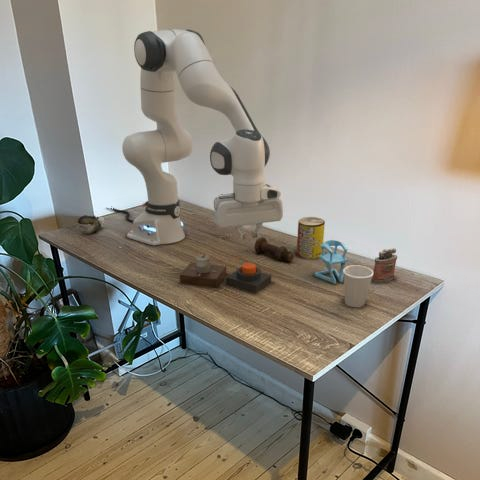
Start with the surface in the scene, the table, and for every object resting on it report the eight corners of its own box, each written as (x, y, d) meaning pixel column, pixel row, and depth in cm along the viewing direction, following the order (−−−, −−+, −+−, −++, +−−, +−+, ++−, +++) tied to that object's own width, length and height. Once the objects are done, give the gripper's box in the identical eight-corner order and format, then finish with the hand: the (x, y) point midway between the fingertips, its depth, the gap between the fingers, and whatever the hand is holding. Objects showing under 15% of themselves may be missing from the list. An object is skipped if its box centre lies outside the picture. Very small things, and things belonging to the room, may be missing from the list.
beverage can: (295, 248, 179) (297, 216, 173) (320, 249, 179) (323, 216, 173) (297, 258, 171) (299, 225, 165) (323, 258, 171) (326, 225, 165)
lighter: (376, 284, 154) (380, 254, 149) (369, 280, 156) (373, 250, 151) (396, 278, 157) (401, 249, 152) (389, 274, 160) (393, 245, 154)
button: (238, 272, 152) (238, 266, 151) (246, 267, 155) (246, 261, 154) (250, 275, 150) (250, 269, 149) (258, 270, 153) (258, 264, 152)
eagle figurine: (90, 222, 202) (74, 225, 195) (97, 209, 199) (81, 211, 191) (102, 235, 201) (86, 238, 194) (109, 222, 197) (93, 224, 190)
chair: (328, 285, 153) (331, 249, 147) (314, 275, 160) (316, 240, 154) (349, 281, 156) (353, 245, 150) (334, 271, 162) (337, 236, 156)
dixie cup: (348, 293, 149) (352, 262, 144) (374, 301, 144) (378, 270, 139) (334, 303, 143) (337, 272, 138) (360, 312, 138) (364, 280, 133)
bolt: (289, 268, 169) (257, 254, 178) (298, 257, 170) (265, 245, 179) (285, 257, 164) (252, 244, 173) (294, 246, 166) (261, 234, 175)
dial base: (180, 283, 155) (179, 274, 154) (191, 270, 164) (191, 261, 162) (216, 288, 152) (216, 278, 151) (226, 274, 161) (226, 265, 159)
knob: (207, 273, 154) (206, 259, 152) (194, 272, 155) (193, 258, 153) (212, 268, 158) (211, 254, 155) (199, 266, 159) (198, 253, 157)
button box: (226, 284, 154) (225, 271, 152) (242, 274, 161) (242, 261, 158) (255, 293, 149) (255, 280, 147) (271, 282, 155) (271, 269, 153)
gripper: (216, 198, 135) (218, 246, 142) (285, 191, 140) (284, 237, 147) (210, 192, 140) (212, 238, 147) (277, 185, 145) (276, 230, 152)
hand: (248, 238), depth 147 cm, fingers open, 3 cm apart
